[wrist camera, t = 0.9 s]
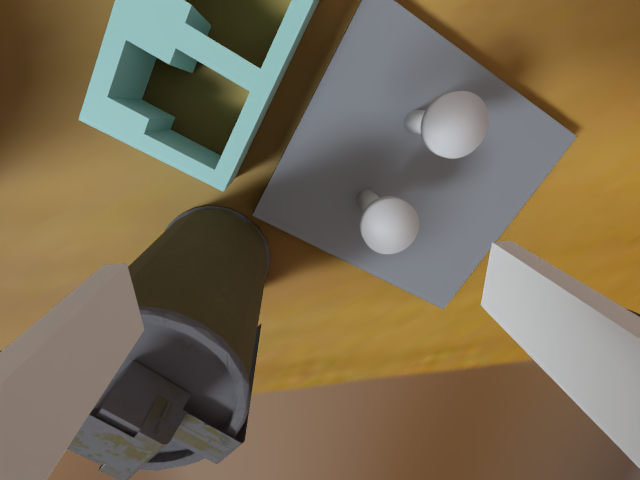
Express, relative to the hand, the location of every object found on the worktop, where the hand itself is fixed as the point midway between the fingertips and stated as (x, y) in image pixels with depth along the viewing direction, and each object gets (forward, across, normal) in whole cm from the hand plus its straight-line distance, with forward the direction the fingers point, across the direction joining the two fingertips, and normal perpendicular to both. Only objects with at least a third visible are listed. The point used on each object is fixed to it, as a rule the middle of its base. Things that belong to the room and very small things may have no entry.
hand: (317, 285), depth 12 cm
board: (+20, +10, 0) cm, 22 cm away
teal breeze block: (+20, -6, +10) cm, 23 cm away
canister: (+20, -8, -7) cm, 23 cm away
